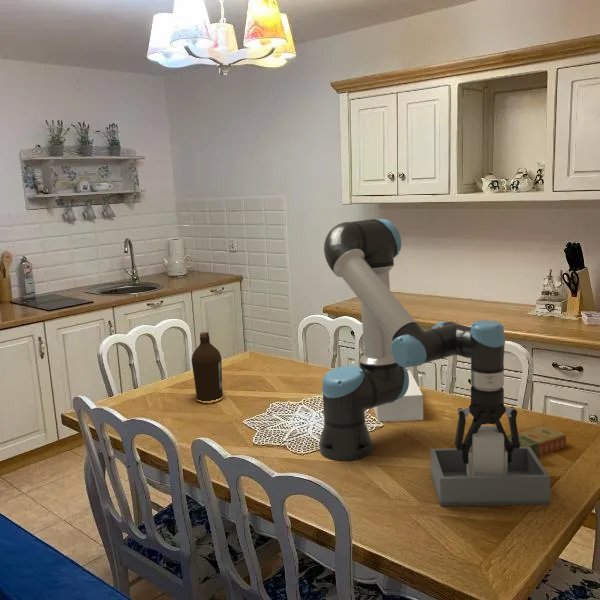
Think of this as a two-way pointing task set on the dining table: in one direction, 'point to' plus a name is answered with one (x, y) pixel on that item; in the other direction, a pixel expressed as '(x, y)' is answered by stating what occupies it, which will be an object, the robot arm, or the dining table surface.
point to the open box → (490, 481)
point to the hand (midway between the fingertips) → (486, 474)
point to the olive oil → (207, 370)
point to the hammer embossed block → (403, 405)
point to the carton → (541, 439)
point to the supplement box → (487, 452)
